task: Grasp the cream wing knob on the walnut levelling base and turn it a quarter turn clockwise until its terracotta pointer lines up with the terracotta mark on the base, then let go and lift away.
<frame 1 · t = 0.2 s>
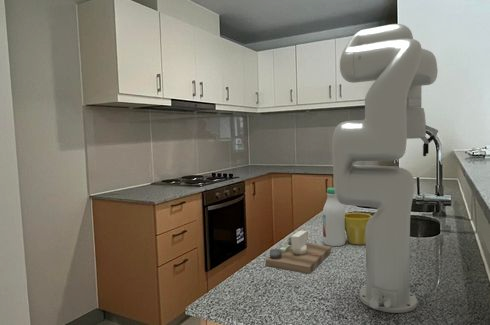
hand: (408, 155, 119), 31 cm above the worktop, fingers open, 9 cm apart
levelling base: (299, 258, 112), on the worktop
milk bottle: (334, 243, 127), on the worktop, touching plant pot
wing knob: (300, 242, 113), point 5 cm above the worktop, hinge at 0.0°
plant pot: (357, 242, 128), on the worktop, touching milk bottle
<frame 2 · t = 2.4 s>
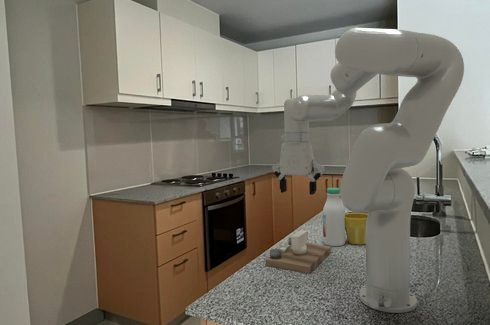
hand: (297, 192, 111), 21 cm above the worktop, fingers open, 9 cm apart
nothing on the worktop moved.
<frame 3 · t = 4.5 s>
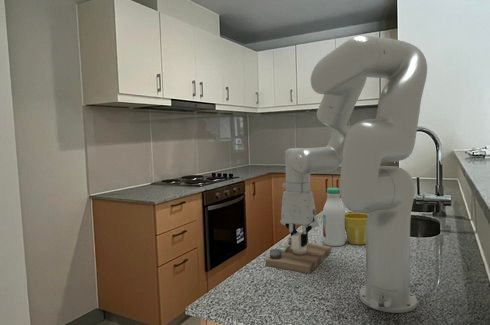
hand: (299, 244, 112), 5 cm above the worktop, fingers closed on wing knob, 2 cm apart
wing knob: (300, 242, 113), point 5 cm above the worktop, hinge at 0.0°, touching gripper
everything else where it was.
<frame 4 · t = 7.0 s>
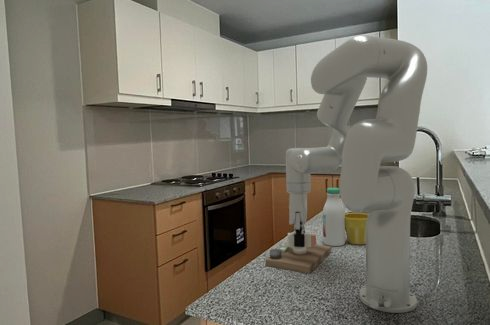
hand: (299, 244, 112), 5 cm above the worktop, fingers closed on wing knob, 3 cm apart
wing knob: (301, 242, 112), point 5 cm above the worktop, hinge at -60.8°, touching gripper
everything else where it was.
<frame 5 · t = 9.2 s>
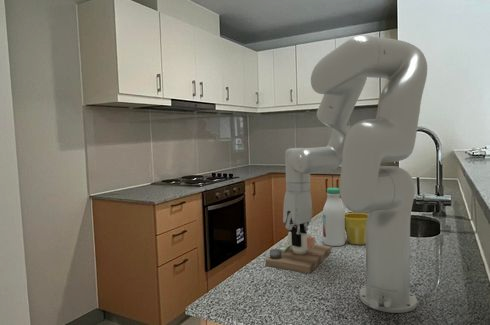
hand: (299, 244, 112), 5 cm above the worktop, fingers closed on wing knob, 2 cm apart
wing knob: (301, 243, 112), point 5 cm above the worktop, hinge at -102.1°, touching gripper
everything else where it was.
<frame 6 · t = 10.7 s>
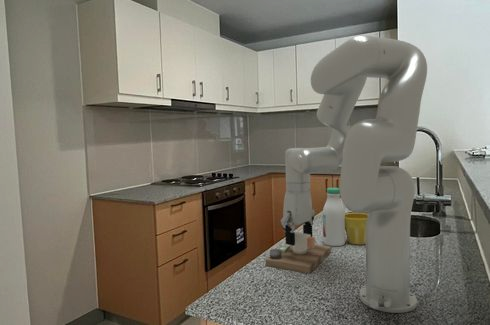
hand: (299, 240, 112), 6 cm above the worktop, fingers open, 9 cm apart
wing knob: (301, 243, 112), point 5 cm above the worktop, hinge at -102.2°
everything else where it was.
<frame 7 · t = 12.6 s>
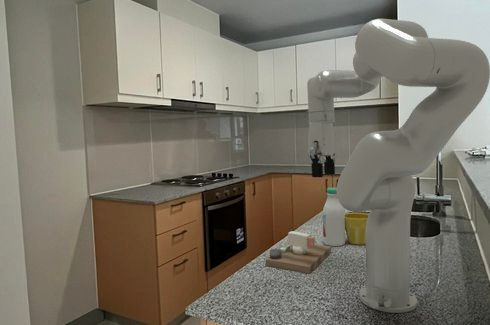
hand: (323, 175, 106), 27 cm above the worktop, fingers open, 9 cm apart
nothing on the worktop moved.
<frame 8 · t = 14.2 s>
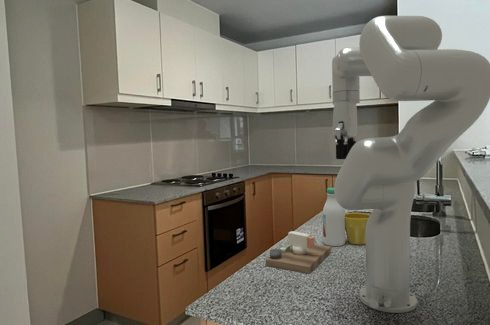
hand: (346, 157, 103), 32 cm above the worktop, fingers open, 9 cm apart
nothing on the worktop moved.
at the end: wing knob at -102° (first picture: +0°); milk bottle moved 0.2 cm from its start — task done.
